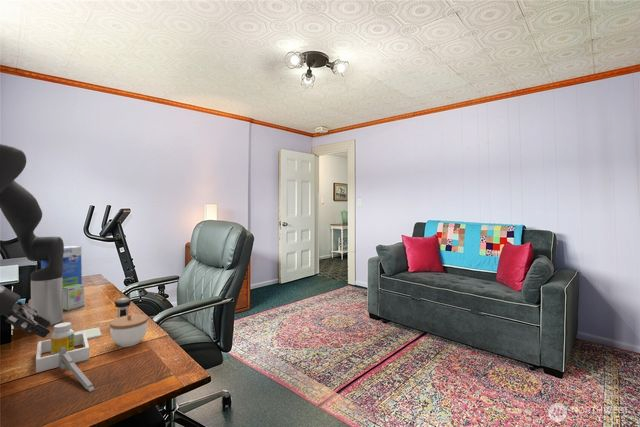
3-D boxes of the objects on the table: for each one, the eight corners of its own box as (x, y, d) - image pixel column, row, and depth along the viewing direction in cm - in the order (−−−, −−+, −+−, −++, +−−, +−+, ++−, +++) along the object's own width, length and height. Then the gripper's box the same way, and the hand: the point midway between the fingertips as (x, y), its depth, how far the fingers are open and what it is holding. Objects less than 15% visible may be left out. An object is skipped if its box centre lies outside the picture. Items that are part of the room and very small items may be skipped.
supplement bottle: (54, 354, 95) (54, 322, 95) (76, 350, 97) (76, 320, 97) (48, 362, 90) (48, 329, 90) (71, 358, 92) (71, 326, 92)
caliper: (58, 368, 87) (58, 346, 87) (63, 367, 88) (62, 345, 88) (89, 393, 76) (89, 367, 76) (94, 390, 77) (94, 365, 76)
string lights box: (74, 297, 153) (73, 245, 153) (82, 299, 150) (82, 246, 149) (40, 305, 141) (40, 248, 141) (49, 307, 138) (48, 249, 137)
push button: (110, 329, 114) (110, 302, 114) (110, 325, 118) (110, 298, 118) (131, 325, 118) (131, 299, 117) (130, 321, 122) (130, 296, 122)
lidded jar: (108, 341, 104) (107, 314, 103) (144, 333, 110) (144, 307, 110) (112, 353, 95) (111, 323, 95) (151, 344, 102) (151, 315, 102)
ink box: (68, 311, 134) (67, 280, 133) (61, 310, 135) (61, 279, 135) (84, 306, 140) (84, 276, 140) (78, 305, 141) (78, 276, 141)
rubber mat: (68, 343, 102) (68, 342, 102) (67, 334, 109) (67, 333, 109) (101, 336, 108) (101, 334, 108) (98, 328, 115) (98, 327, 115)
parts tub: (36, 372, 84) (35, 359, 84) (38, 353, 95) (38, 341, 95) (89, 359, 92) (89, 347, 92) (85, 342, 103) (85, 332, 103)
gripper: (0, 292, 80) (59, 325, 87) (7, 282, 91) (59, 312, 98) (-30, 317, 76) (34, 350, 84) (-20, 303, 87) (36, 333, 95)
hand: (47, 330), depth 91 cm, fingers open, 8 cm apart
